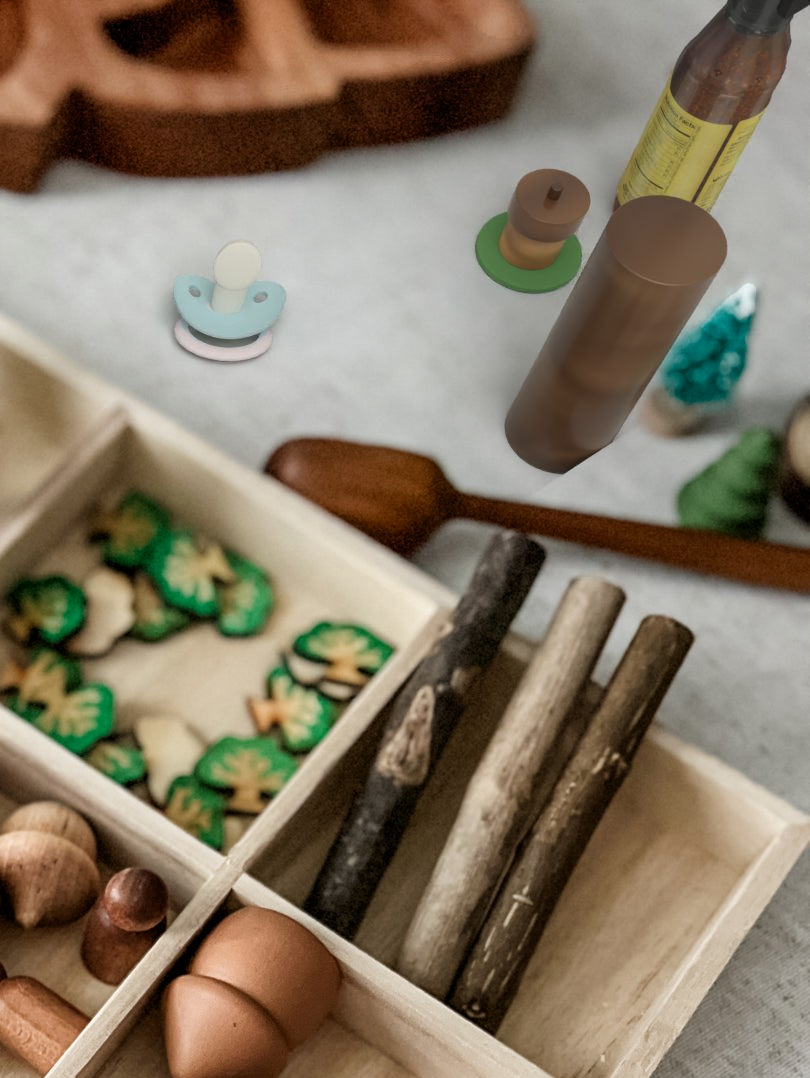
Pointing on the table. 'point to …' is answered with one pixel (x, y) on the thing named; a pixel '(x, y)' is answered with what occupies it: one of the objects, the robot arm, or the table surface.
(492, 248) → the coaster
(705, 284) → the brown cylinder
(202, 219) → the table surface
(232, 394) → the table surface
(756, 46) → the sauce bottle
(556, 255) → the stemmed brown cap
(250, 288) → the pacifier
